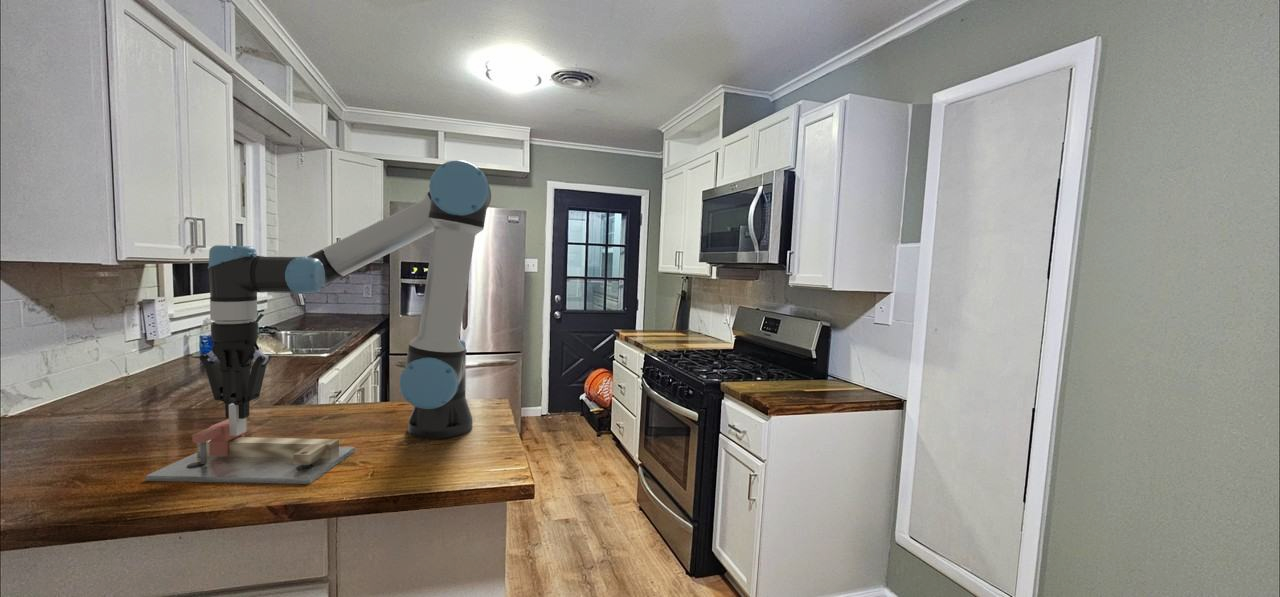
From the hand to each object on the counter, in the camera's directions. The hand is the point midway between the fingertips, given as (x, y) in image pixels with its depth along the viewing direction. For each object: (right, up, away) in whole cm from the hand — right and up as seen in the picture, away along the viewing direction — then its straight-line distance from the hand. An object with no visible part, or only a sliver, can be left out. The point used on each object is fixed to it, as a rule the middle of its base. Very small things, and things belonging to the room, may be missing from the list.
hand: (238, 433), depth 105 cm
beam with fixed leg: (+6, -5, -2) cm, 8 cm away
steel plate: (+6, -6, -2) cm, 9 cm away
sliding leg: (-2, -4, -2) cm, 5 cm away
